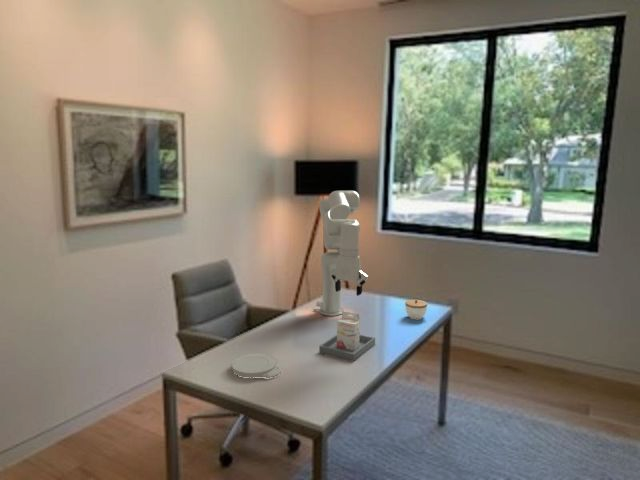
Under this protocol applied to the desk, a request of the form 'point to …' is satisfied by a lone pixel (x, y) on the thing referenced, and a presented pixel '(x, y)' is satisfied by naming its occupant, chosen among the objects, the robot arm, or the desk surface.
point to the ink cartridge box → (348, 331)
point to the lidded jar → (416, 308)
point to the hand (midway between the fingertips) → (348, 292)
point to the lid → (256, 366)
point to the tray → (347, 354)
